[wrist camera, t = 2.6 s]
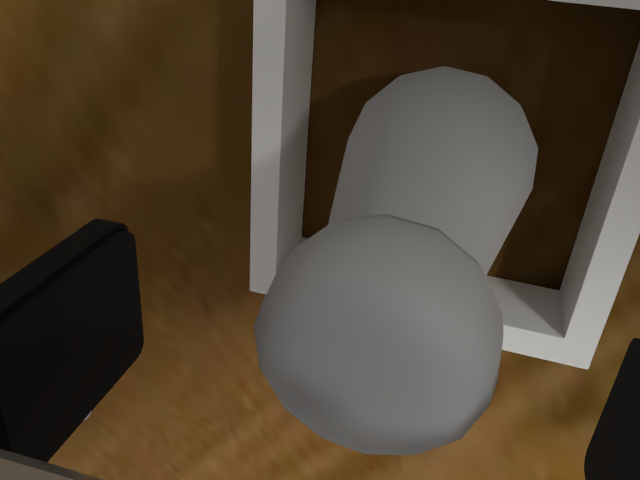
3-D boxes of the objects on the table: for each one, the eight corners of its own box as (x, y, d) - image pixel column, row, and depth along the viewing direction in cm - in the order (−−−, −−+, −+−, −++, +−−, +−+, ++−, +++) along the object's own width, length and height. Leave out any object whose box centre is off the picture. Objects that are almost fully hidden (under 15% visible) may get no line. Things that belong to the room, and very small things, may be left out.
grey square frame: (704, -35, 16) (738, -27, 14) (580, 318, 22) (587, 369, 20) (290, -72, 19) (254, -71, 16) (277, 253, 25) (249, 290, 22)
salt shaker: (477, 242, 22) (431, 562, 11) (340, 170, 22) (161, 411, 11) (572, 101, 19) (642, 354, 8) (411, 20, 19) (260, 152, 8)
